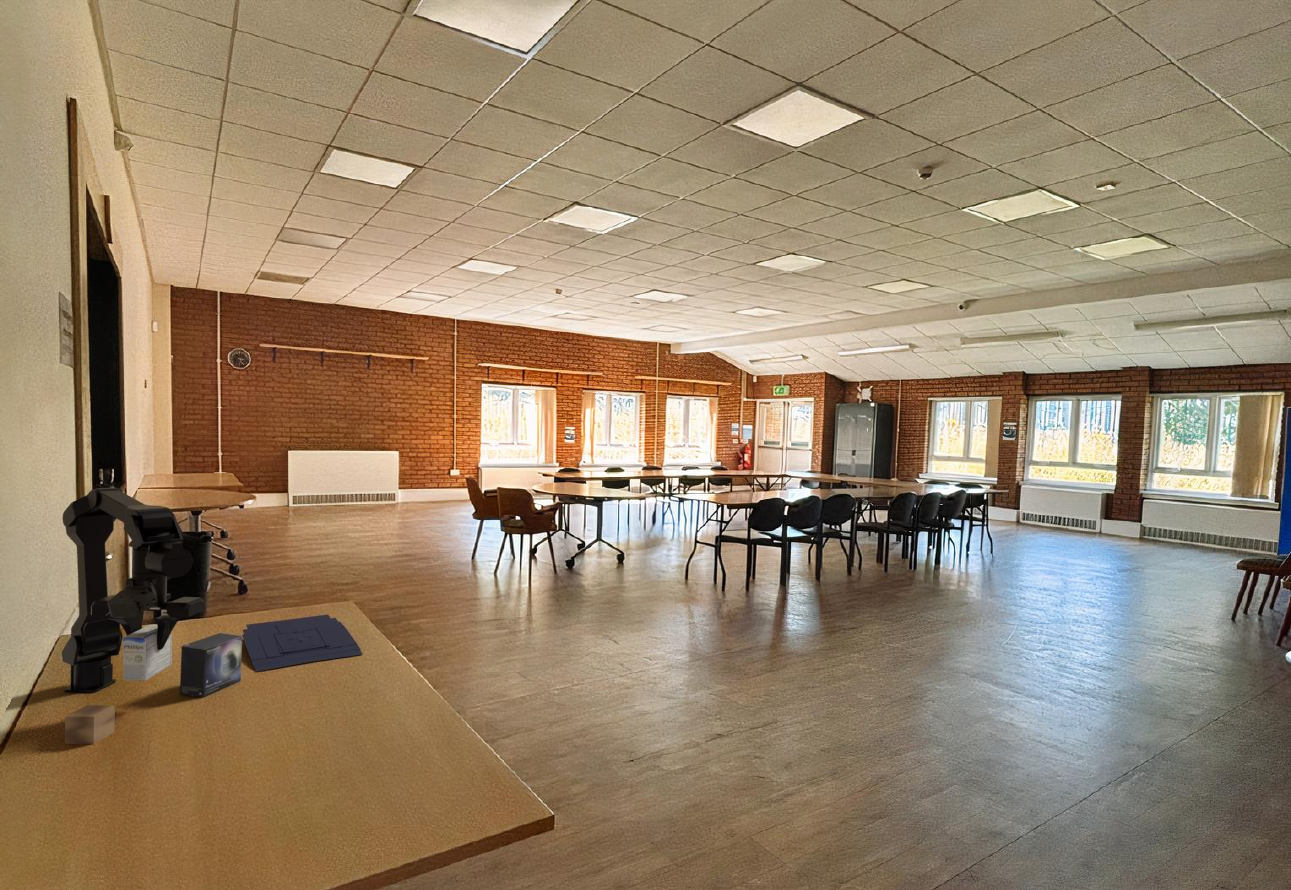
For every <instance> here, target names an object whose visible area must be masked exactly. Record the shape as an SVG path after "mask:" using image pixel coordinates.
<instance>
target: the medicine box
mask: <svg viewBox="0 0 1291 890" xmlns="http://www.w3.org/2000/svg"><path fill="white" fill-rule="evenodd" d="M157 628H158V625H157V624H149V625H146V626H145V627H142V629H140V630H138V631H136V632H134V633H132V634H130V635H128V636H127V635H126V636H124V637H123V638H122V659H123V661H122V662H123V664H122V665H123V668H122V669H123V673H122V674H123V680H124V681H130V682H132V681H135V682H136V681H137V682H144V681H147V680H149V679H151V678H152V677H154V676H156V675H157V674H159V673H160V672H161V673H162V672H163V671H164V670H166V669H167V668H169V667H171V666H172V662H173V661H172V660H173V659H172V657H173V656H172V651H173V650H172V647H173V646H172V642H173V641H172V639H173V638H172V637H173V636H172V632H173V631H172V632H171V634H170V636H169V638H168V640H167V642H166V644H165V646H164V647H163V649H161V650H158V649H157Z"/></svg>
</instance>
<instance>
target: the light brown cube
mask: <svg viewBox="0 0 1291 890" xmlns="http://www.w3.org/2000/svg"><path fill="white" fill-rule="evenodd" d="M115 711H116V706H115V705H99V704H98V705H97V704H96V705H94V704H86V705H85V706H82V707H81V708H79V709H76V710H75V711H73V712H71V713H69V714H67V715H65V717H64V718H65V719H64V721H65V722H64V723H65V724H64V744H66V745H67V744H68V745H70V744H71V745H94V744H96V743H98V742H100V741H101V740H103V739H105V738H106V737H108V736H111V735H112V734H114V733H115V718H116V716H115V714H116V712H115Z"/></svg>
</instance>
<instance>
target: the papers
mask: <svg viewBox="0 0 1291 890" xmlns="http://www.w3.org/2000/svg"><path fill="white" fill-rule="evenodd" d="M245 625H246V628H245V629H242V634H241V636H242V640H243V641H244V644H245V648H246V650H247V653H248V655H249V658H250V661H251V664H252V666H253V667H254V669H255V672H262V671H267V670H272V669H273V670H274V669H278V668H283V667H290V666H295V665H301V664H307V663H313V662H319V661H325V660H333V659H340V658H347V657H353V656H360V655H363V652H362V650H361V648H360V646H359V644H358V643H357V641H356V640H355V638H354V637H353V636H352V635H351V633H350V632H349V630H348V629H347V627H346V626H345V625H344V624H343V623H342V622H341V621H339V620H338V619H337V618H336V617H330V615H329V614H322V615H321V614H320V615H313V616H305V617H298V618H297V617H296V618H290V619H281V620H273V621H266V622H257V623H250V624H249V623H248V624H245Z"/></svg>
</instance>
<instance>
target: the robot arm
mask: <svg viewBox="0 0 1291 890" xmlns="http://www.w3.org/2000/svg"><path fill="white" fill-rule="evenodd" d="M116 520H117V521H120V522H121V523H123V524H124V525H123V531H124V532H125V533H126V534H127V535H128V536H129V538H130V539H131V541H129V542H128V547H130V548H132V550H131V577H129V578H126V581H125V587H124V589H123V590H120V591H119V592H117V593H116V594H114V595H113V594H112V595H108V593H109V592H108V574H107V573H108V571H107V559H106V558H107V557H106V543H107V541H108V539H109V538H110V536H111V535H112V533H113V532H114V530H115V529H114V528H115V527H114V526H115V522H116ZM62 523H63V526H64V527H65V533H66V536H67V537H68V538H69V539H70V541H72V542H73V544H75V545H76V555H77V556H76V557H77V558H76V559H77V574H78V576H77V577H78V594H79V612H80V613H79V615H78V617H77V618H76V620H75V621H74V622H73V624H72V626H71V627H70V637H69V639H68V641H67V642H66V644H65V646H64V648H63V649H62V650H61V657H62V659H61V660H62V662H63V663H66V664H68V665H70V683H69V684H70V685H69V686H68V687H66V688H64V689H63V690H64V692H67V693H68V692H70V693H71V692H74V693H95V692H97V691H100V690H101V689H102V690H103V689H104V688H106V687H108V686H110V685H112V684H115V683H116V682H117V679H114V678H113V677H114V676H113V675H114V674H113V673H114V671H113V670H114V669H113V668H114V667H113V663H112V657H114V656H115V657H116V656H119V654H120V651H121V647H122V644H123V638H124V637H123V635H124V634H123V632H122V629H121V627H122V628H123V631H124V632H125V635H126V636H128V635H130V634H132V633H134V632H136V631H138V630H140V629H142V628H143V622H144V613H145V612H161V613H160V616H158V617H155V618H153V621H154V622H155V625H158V628H157V649H158V650H161V649H163V647H164V646H165V644H166V642H167V640H168V638H169V636H170V634H171V632H173V630H174V628H175V626H176V624H177V623H178V622H179V620H180V618H181V619H182V618H183V619H185V618H190V617H192V616H194V615H197V614H199V613H202V612H204V611H205V601H204V600H203V598H202V597H200V596H199V597H196V596H195V597H193V596H182V597H180V598H177V599H175V600H173V601H169V600H170V599H171V597H172V594H171V593H167V592H168V591H167V588H168V586H167V585H168V581H169V580H171V579H173V578H174V579H178V578H181V577H184V576H185V575H187V574H188V573H189V572H190V571H191V569H192V567H193V564H194V557H193V555H192V554H191V552H190V551H189V550H188V549H186V548H184V546H183V544H184V543H183V542H184V537H183V535H184V532H183V529H182V528H181V526H180V524H179V522H178V520H177V518H176V515H175V514H174V512H173V510H172V509H170V507H167V506H164V505H163V506H162V505H151V504H145V503H143V502H141V501H139V500H137V499H135V498H134V497H132V496H130V495H128V494H126V493H124V492H123V490H122V489H121V488H117V487H103V488H101V487H100V488H95V489H91V490H90V491H89V492H88V493H87V494H86V495H84V496H82V497H80V498H78V499H76V500H74V501H72V502H71V503H69V505H68V506H67V507H66V509H65V510H64V511H63V513H62Z"/></svg>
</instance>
